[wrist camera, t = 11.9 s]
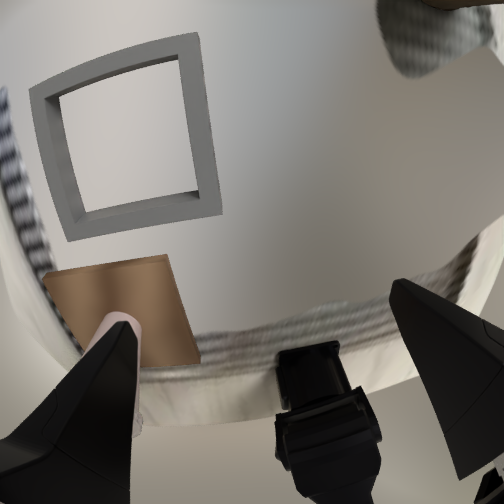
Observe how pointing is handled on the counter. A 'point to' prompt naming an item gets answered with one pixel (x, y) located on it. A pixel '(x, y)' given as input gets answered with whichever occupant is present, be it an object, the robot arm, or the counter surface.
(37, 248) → the counter surface
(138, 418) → the smoothie
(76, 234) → the frame
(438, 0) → the pillar candle
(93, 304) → the walnut coaster
